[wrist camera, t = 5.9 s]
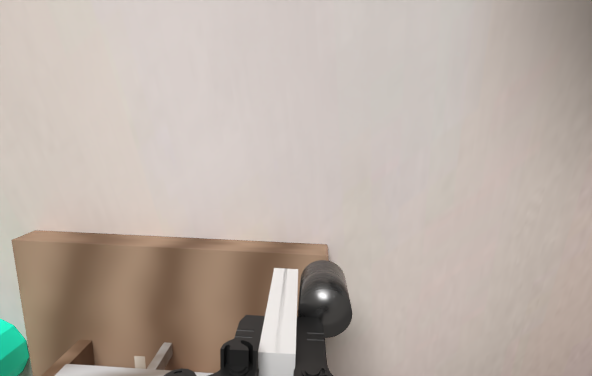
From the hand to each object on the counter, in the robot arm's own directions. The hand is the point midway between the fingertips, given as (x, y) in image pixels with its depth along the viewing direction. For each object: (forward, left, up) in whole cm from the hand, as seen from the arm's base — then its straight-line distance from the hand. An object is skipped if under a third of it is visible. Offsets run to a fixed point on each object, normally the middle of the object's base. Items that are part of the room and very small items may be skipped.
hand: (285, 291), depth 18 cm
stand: (+8, +7, -6) cm, 13 cm away
